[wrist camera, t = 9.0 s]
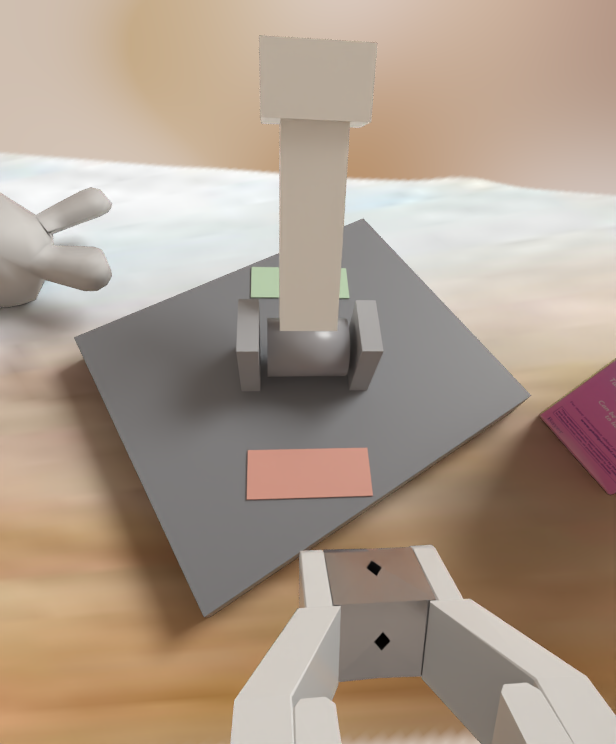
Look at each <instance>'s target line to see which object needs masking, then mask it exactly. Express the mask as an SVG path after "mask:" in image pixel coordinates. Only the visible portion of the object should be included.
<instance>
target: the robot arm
mask: <svg viewBox="0 0 616 744" xmlns="http://www.w3.org/2000/svg"><path fill="white" fill-rule="evenodd" d="M417 676H422V679H423V681H424V682H425V683H426V684H427V685H428V686H429V687H430V688H431V689H432V690H433V691H434V693H435V694H436V695H437V696H438V697H439V698H440V699H441V700H442V701H443V702H444V704H445V705H446V706H447V707H448V708H449V709H450V710H451V711H452V712H453V713H454V715H455V716H456V717H457V718H458V719H459V720H460V721H461V722H462V723H463V724H464V726H465V727H466V728H467V729H468V730H469V731H470V732H471V733H472V734H473V735H474V737H475V738H476V739H477V740H478V741H479V742H480V743H481V744H616V715H615V714H614V713H613V711H612V710H611V708H610V707H609V706H608V704H607V703H606V702H605V700H604V699H603V698H602V696H601V695H600V693H599V692H598V691H597V689H596V688H595V687H594V685H593V684H592V683H591V681H590V680H589V679H588V677H587V676H585V675H584V674H582V673H581V672H579V671H578V670H576V669H575V668H573V667H572V666H570V665H569V664H567V663H566V662H564V661H563V660H561V659H560V658H558V657H557V656H555V655H554V654H552V653H551V652H549V651H548V650H546V649H545V648H543V647H542V646H540V645H539V644H537V643H536V642H534V641H533V640H531V639H530V638H528V637H527V636H525V635H524V634H522V633H521V632H519V631H518V630H516V629H515V628H513V627H512V626H510V625H509V624H507V623H506V622H504V621H503V620H501V619H500V618H498V617H497V616H495V615H494V614H492V613H491V612H489V611H488V610H486V609H485V608H483V607H482V606H480V605H479V604H477V603H476V602H474V601H473V600H471V599H463V597H462V595H461V593H460V592H459V590H458V588H457V586H456V584H455V583H454V581H453V579H452V577H451V576H450V574H449V572H448V570H447V568H446V567H445V565H444V563H443V561H442V559H441V558H440V556H439V554H438V552H437V550H436V549H435V547H434V546H432V545H420V546H410V547H399V548H379V549H335V550H323V551H322V550H306V551H300V554H299V608H298V609H297V610H296V612H295V613H294V615H293V616H292V617H291V619H290V620H289V622H288V623H287V625H286V626H285V628H284V629H283V631H282V632H281V633H280V635H279V636H278V638H277V639H276V641H275V642H274V644H273V645H272V647H271V648H270V649H269V651H268V652H267V654H266V655H265V657H264V658H263V660H262V661H261V662H260V664H259V665H258V667H257V668H256V670H255V671H254V673H253V674H252V676H251V677H250V678H249V680H248V681H247V683H246V684H245V686H244V687H243V689H242V690H241V692H240V693H239V694H238V696H237V697H236V699H235V700H234V709H233V720H232V731H231V743H230V744H341V737H340V731H339V724H338V717H337V711H336V704H335V703H334V702H332V699H333V697H334V694H335V692H336V689H337V687H338V682H343V681H353V680H363V679H373V678H390V677H417Z"/></svg>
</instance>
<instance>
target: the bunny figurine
mask: <svg viewBox="0 0 616 744" xmlns="http://www.w3.org/2000/svg"><path fill="white" fill-rule="evenodd" d="M111 206H112V203H111V202H110V201H109V199H108V198H107V197H106V196H105V195H104V194H103V192H102V191H101V190H100V189H95V188H91V187H90V188H88V189H85V190H82V191H80V192H78V193H76V194H74V195H72V196H70V197H68V198H66V199H64V200H63V201H61V202H59V203H57V204H55V205H53V206H51V207H50V208H48V209H46V210H44V211H42V212H41V213H39V214H37V215H35V214H33V213H32V212H30V211H29V210H27V209H25V208H24V207H22V206H21V205H19V204H17V203H16V202H14V201H13V200H11V199H10V198H8V197H6V196H5V195H3V194H2V193H0V308H3V307H11V306H17V305H21V304H24V303H27V302H30V301H34V300H36V298H37V296H38V294H39V292H40V289H41V287H42V285H43V283H44V281H45V280H47V281H51V282H54V283H58V284H61V285H65V286H69V287H72V288H76V289H79V290H83V291H98V290H99V289H101V288H103V287H104V286H106V285H107V284H108V282H109V281H110V279H111V277H112V273H111V269H110V266H109V264H108V262H107V259H106V257H105V255H104V253H103V251H102V250H101V249H99V248H96V247H85V246H60V245H54V241H53V234H54V233H57V232H59V231H62V230H65V229H67V228H70V227H73V226H75V225H78V224H81V223H83V222H86V221H89V220H92V219H95V218H97V217H100V216H102V215H104V214H106V213H108V212H109V210H110V209H111Z"/></svg>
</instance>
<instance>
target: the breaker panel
mask: <svg viewBox="0 0 616 744" xmlns="http://www.w3.org/2000/svg"><path fill="white" fill-rule="evenodd" d="M267 318H279V253H278V254H276V255H273V256H271V257H269V258H266V259H264V260H261V261H259V262H256V263H254V264H252V265H249V266H247V267H244V268H242V269H239V270H237V271H235V272H232V273H230V274H227V275H225V276H222V277H220V278H218V279H215V280H213V281H210V282H208V283H205V284H203V285H200V286H198V287H196V288H193V289H191V290H188V291H186V292H183V293H181V294H179V295H176V296H174V297H171V298H169V299H166V300H164V301H162V302H159V303H157V304H154V305H152V306H149V307H147V308H145V309H142V310H140V311H137V312H135V313H132V314H130V315H128V316H125V317H123V318H120V319H118V320H115V321H113V322H111V323H108V324H106V325H103V326H101V327H98V328H96V329H94V330H91V331H89V332H86V333H84V334H81V335H79V336H77V337H74V339H75V341H76V343H77V345H78V347H79V349H80V352H81V354H82V356H83V358H84V360H85V362H86V364H87V367H88V369H89V371H90V373H91V375H92V377H93V380H94V382H95V384H96V386H97V388H98V390H99V392H100V395H101V397H102V399H103V401H104V403H105V405H106V408H107V410H108V412H109V414H110V416H111V418H112V420H113V423H114V425H115V427H116V429H117V431H118V433H119V436H120V438H121V440H122V442H123V444H124V446H125V448H126V451H127V453H128V455H129V457H130V459H131V461H132V464H133V466H134V468H135V470H136V472H137V474H138V476H139V479H140V481H141V483H142V485H143V487H144V489H145V492H146V494H147V496H148V498H149V500H150V502H151V504H152V507H153V509H154V511H155V513H156V515H157V517H158V520H159V522H160V524H161V526H162V528H163V530H164V532H165V535H166V537H167V539H168V541H169V543H170V545H171V548H172V550H173V552H174V554H175V556H176V558H177V560H178V563H179V565H180V567H181V569H182V571H183V573H184V576H185V578H186V580H187V582H188V584H189V586H190V588H191V591H192V593H193V595H194V597H195V599H196V601H197V604H198V606H199V608H200V610H201V612H202V614H203V616H204V617H211V616H212V615H214V614H215V613H217V612H218V611H220V610H221V609H223V608H224V607H226V606H227V605H229V604H230V603H232V602H233V601H234V600H236V599H237V598H239V597H240V596H242V595H243V594H245V593H246V592H248V591H249V590H251V589H252V588H254V587H255V586H257V585H258V584H259V583H261V582H262V581H264V580H265V579H267V578H268V577H270V576H271V575H273V574H274V573H276V572H277V571H279V570H280V569H282V568H283V567H284V566H286V565H287V564H289V563H290V562H292V561H293V560H295V559H296V558H298V557H299V554H300V551H306V550H309V549H311V548H312V547H314V546H315V545H317V544H318V543H320V542H321V541H323V540H324V539H326V538H327V537H329V536H330V535H331V534H333V533H334V532H336V531H337V530H339V529H340V528H342V527H343V526H345V525H346V524H348V523H349V522H351V521H352V520H353V519H355V518H356V517H358V516H359V515H361V514H362V513H364V512H365V511H367V510H368V509H370V508H371V507H373V506H374V505H376V504H377V503H378V502H380V501H381V500H383V499H384V498H386V497H387V496H389V495H390V494H392V493H393V492H395V491H396V490H398V489H399V488H400V487H402V486H403V485H405V484H406V483H408V482H409V481H411V480H412V479H414V478H415V477H417V476H418V475H420V474H421V473H423V472H424V471H425V470H427V469H428V468H430V467H431V466H433V465H434V464H436V463H437V462H439V461H440V460H442V459H443V458H445V457H446V456H447V455H449V454H450V453H452V452H453V451H455V450H456V449H458V448H459V447H461V446H462V445H464V444H465V443H467V442H468V441H470V440H471V439H472V438H474V437H475V436H477V435H478V434H480V433H481V432H483V431H484V430H486V429H487V428H489V427H490V426H492V425H493V424H495V423H496V422H497V421H499V420H500V419H502V418H503V417H505V416H506V415H508V414H509V413H511V412H512V411H514V410H515V409H516V408H517V407H518V406H520V405H521V404H522V403H523V402H524V401H525V400H527V399H528V398H529V397H530V396H531V395H530V394H529V393H528V392H527V391H526V389H525V388H524V387H523V386H522V385H521V384H520V383H519V382H518V381H517V380H516V379H515V378H514V377H513V376H512V375H511V374H510V373H509V372H508V370H507V369H506V368H505V367H504V366H503V365H502V364H501V363H500V362H499V361H498V360H497V359H496V358H495V357H494V356H493V355H492V354H491V353H490V352H489V350H488V349H487V348H486V347H485V346H484V345H483V344H482V343H481V342H480V341H479V340H478V339H477V338H476V337H475V336H474V335H473V334H472V333H471V332H470V330H469V329H468V328H467V327H466V326H465V325H464V324H463V323H462V322H461V321H460V320H459V319H458V318H457V317H456V316H455V315H454V314H453V313H452V311H451V310H450V309H449V308H448V307H447V306H446V305H445V304H444V303H443V302H442V301H441V300H440V299H439V298H438V297H437V296H436V295H435V294H434V293H433V291H432V290H431V289H430V288H429V287H428V286H427V285H426V284H425V283H424V282H423V281H422V280H421V279H420V278H419V277H418V276H417V275H416V274H415V273H414V271H413V270H412V269H411V268H410V267H409V266H408V265H407V264H406V263H405V262H404V261H403V260H402V259H401V258H400V257H399V256H398V255H397V254H396V252H395V251H394V250H393V249H392V248H391V247H390V246H389V245H388V244H387V243H386V242H385V241H384V240H383V239H382V238H381V237H380V236H379V235H378V234H377V232H376V231H375V230H374V229H373V228H372V227H371V226H370V225H369V224H368V223H367V222H366V221H365V220H364V219H361V220H358V221H356V222H354V223H351V224H349V225H346V226H344V229H343V245H342V261H341V278H340V294H339V310H338V318H346V319H347V321H348V325H349V333H350V360H349V368H348V372H347V375H346V376H284V377H268V363H267Z"/></svg>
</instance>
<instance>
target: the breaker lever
mask: <svg viewBox="0 0 616 744" xmlns="http://www.w3.org/2000/svg"><path fill="white" fill-rule="evenodd" d="M376 53H377V42H361V41H344V40H328V39H327V40H326V39H311V38H294V37H277V36H261V35H259V55H260V57H259V58H260V119H261V123H263V124H280V165H279V166H280V167H279V318H267V363H268V377H284V376H346V375H347V372H348V368H349V360H350V333H349V325H348V321H347V319H346V318H338V310H339V294H340V278H341V261H342V245H343V229H344V213H345V196H346V180H347V164H348V147H349V146H348V145H349V131H350V127H357V128H360V127H362V126H364V125H366V124H368V123H370V122H371V118H372V104H373V92H374V79H375V66H376Z"/></svg>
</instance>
